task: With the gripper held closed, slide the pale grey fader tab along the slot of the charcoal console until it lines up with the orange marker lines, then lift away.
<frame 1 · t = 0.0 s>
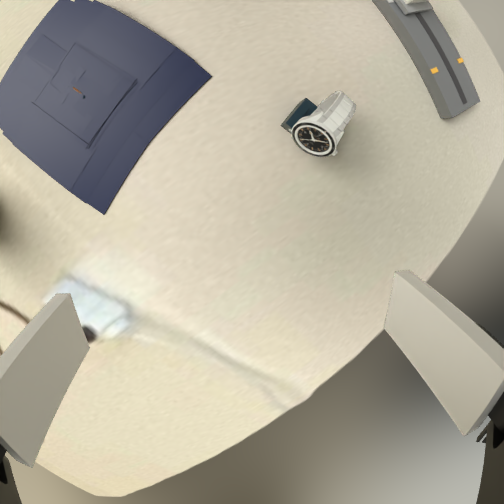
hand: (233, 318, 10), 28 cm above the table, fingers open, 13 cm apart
console: (422, 42, 29), on the table
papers: (82, 90, 29), on the table
watch: (306, 127, 34), on the table
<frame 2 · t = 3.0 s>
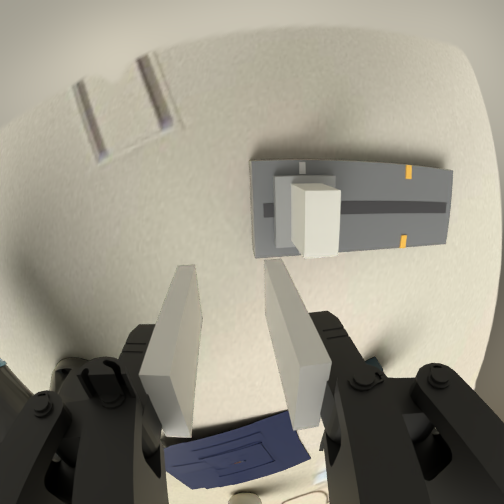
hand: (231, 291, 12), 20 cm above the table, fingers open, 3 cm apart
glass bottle: (244, 493, 58), on the table
fader tab: (311, 216, 25), point 6 cm above the table, slide at 0.0 cm
console: (359, 202, 32), on the table
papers: (232, 452, 48), on the table
watch: (361, 370, 42), on the table
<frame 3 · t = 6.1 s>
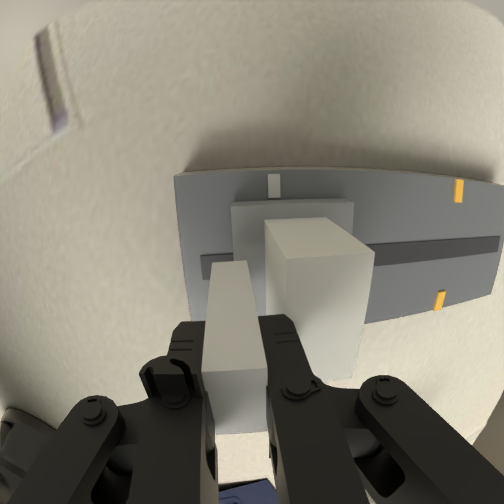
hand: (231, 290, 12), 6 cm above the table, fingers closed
fader tab: (304, 290, 12), point 6 cm above the table, slide at 0.8 cm, touching gripper
console: (376, 238, 19), on the table
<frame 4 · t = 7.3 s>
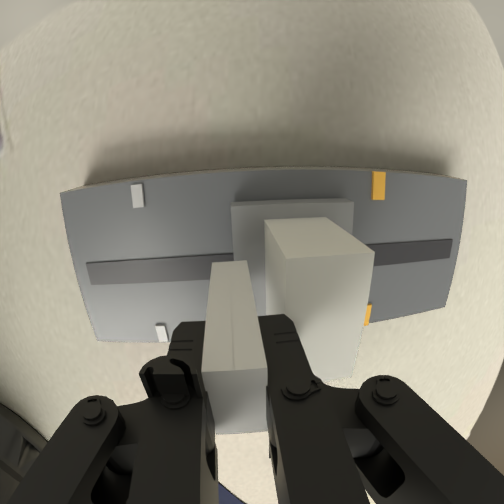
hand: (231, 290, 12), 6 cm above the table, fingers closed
fader tab: (304, 289, 12), point 6 cm above the table, slide at 7.8 cm, touching gripper
console: (282, 244, 18), on the table
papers: (171, 503, 35), on the table
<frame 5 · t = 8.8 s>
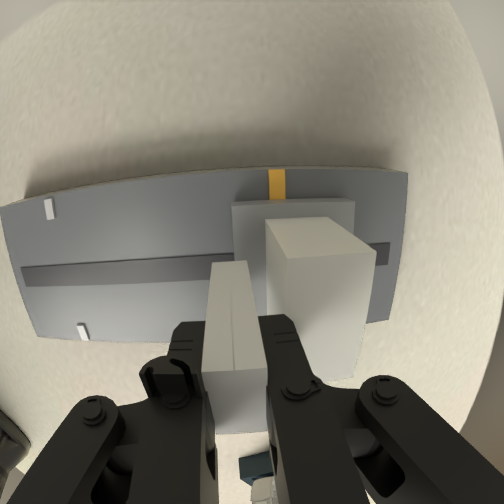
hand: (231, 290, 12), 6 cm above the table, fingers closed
fader tab: (305, 289, 12), point 6 cm above the table, slide at 13.7 cm, touching gripper
console: (192, 250, 18), on the table
watch: (266, 458, 28), on the table
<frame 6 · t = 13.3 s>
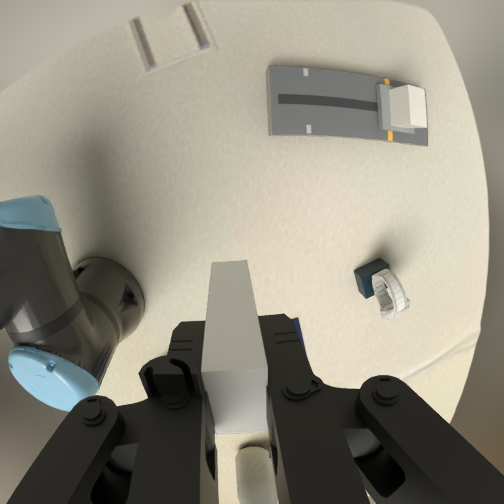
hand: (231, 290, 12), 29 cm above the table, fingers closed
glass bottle: (252, 448, 63), on the table
fader tab: (405, 107, 31), point 6 cm above the table, slide at 13.8 cm
console: (351, 107, 37), on the table
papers: (239, 382, 53), on the table
watch: (369, 274, 47), on the table
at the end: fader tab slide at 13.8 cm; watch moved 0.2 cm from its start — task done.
